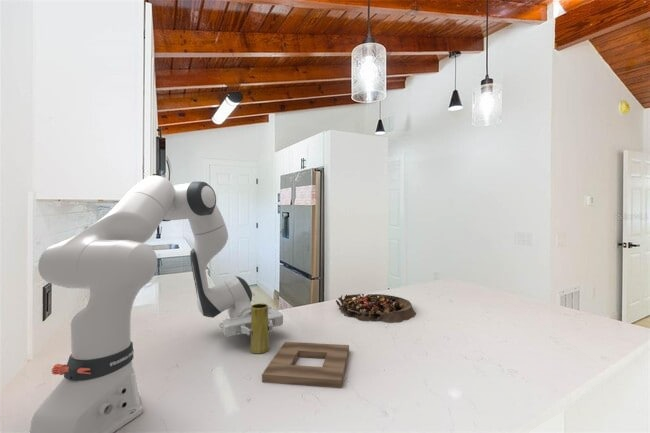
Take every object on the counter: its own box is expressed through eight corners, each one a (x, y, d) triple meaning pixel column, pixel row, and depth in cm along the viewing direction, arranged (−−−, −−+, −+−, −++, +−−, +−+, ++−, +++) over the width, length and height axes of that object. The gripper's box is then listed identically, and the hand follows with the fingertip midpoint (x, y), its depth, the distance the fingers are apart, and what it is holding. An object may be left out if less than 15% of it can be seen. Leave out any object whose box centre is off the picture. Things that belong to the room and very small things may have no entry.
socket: (341, 387, 81) (341, 380, 81) (262, 381, 84) (261, 374, 84) (349, 351, 102) (349, 345, 102) (285, 347, 105) (284, 341, 105)
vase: (265, 354, 100) (264, 309, 100) (246, 353, 101) (246, 308, 101) (272, 346, 106) (271, 303, 106) (254, 345, 107) (254, 302, 107)
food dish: (320, 312, 145) (320, 294, 145) (370, 299, 166) (370, 284, 166) (381, 331, 118) (380, 309, 118) (431, 313, 139) (430, 294, 139)
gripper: (217, 314, 109) (227, 326, 97) (274, 304, 120) (289, 314, 108) (218, 332, 110) (228, 347, 98) (274, 321, 120) (289, 333, 108)
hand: (260, 330), depth 103 cm, fingers closed on vase, 5 cm apart
